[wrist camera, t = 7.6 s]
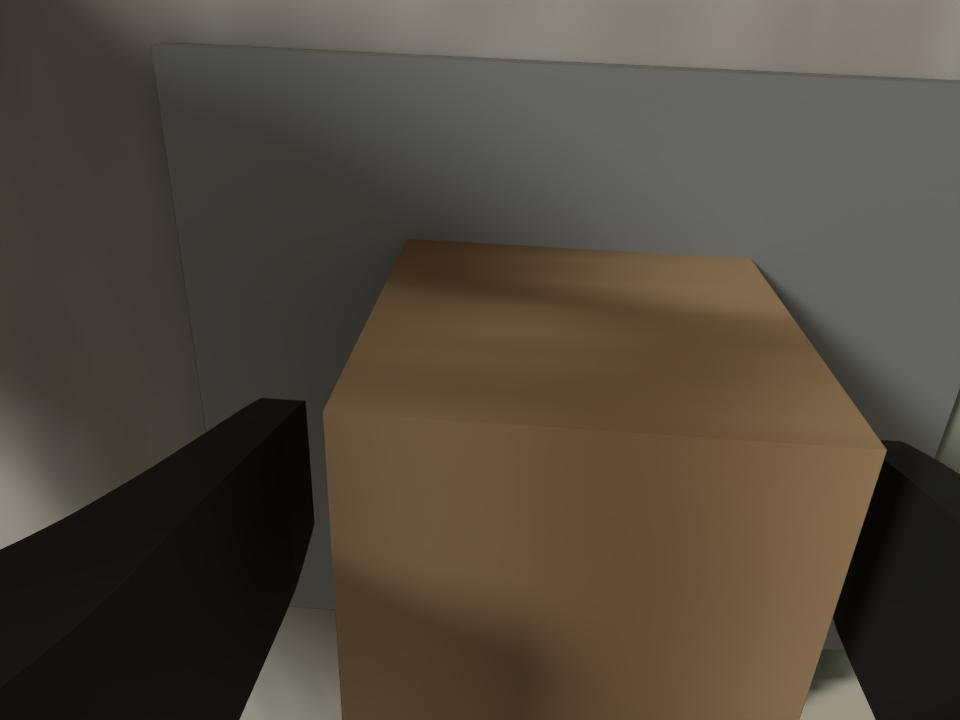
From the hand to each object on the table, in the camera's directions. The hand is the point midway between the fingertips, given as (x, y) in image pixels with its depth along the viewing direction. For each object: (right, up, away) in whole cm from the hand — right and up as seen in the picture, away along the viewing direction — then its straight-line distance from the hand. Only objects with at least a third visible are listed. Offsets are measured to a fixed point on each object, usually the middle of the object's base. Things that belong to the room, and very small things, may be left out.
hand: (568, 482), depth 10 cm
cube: (0, +1, +2) cm, 2 cm away
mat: (0, +1, +2) cm, 3 cm away
